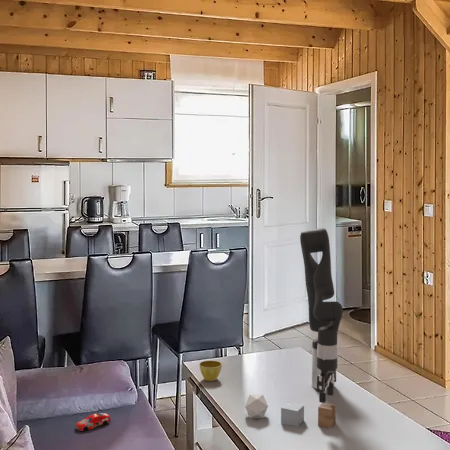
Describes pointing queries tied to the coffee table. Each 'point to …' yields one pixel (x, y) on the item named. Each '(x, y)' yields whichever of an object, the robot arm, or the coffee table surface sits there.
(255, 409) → the die
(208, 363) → the flower pot
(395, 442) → the coffee table surface
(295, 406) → the grey block
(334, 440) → the coffee table surface
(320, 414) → the walnut block
